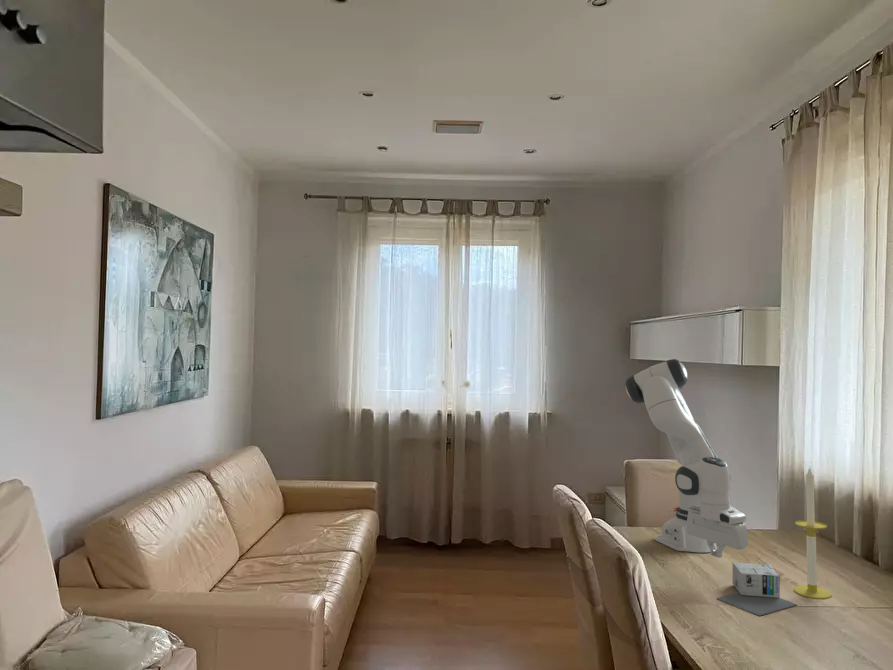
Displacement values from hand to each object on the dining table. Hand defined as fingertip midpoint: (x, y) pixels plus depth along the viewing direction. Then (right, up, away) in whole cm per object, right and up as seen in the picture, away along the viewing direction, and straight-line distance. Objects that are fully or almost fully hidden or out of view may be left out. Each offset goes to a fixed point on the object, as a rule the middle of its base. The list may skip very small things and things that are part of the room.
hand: (716, 556), depth 199 cm
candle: (+26, -9, -6) cm, 28 cm away
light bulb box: (+4, -5, -4) cm, 8 cm away
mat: (+6, -9, -13) cm, 17 cm away
